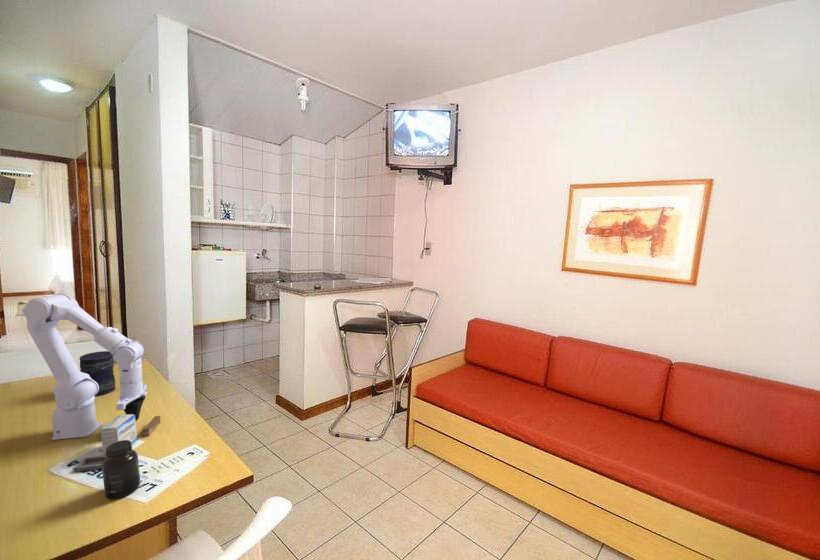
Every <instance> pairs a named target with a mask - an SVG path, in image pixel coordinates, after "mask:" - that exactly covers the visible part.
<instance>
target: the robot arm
mask: <svg viewBox="0 0 820 560" xmlns="http://www.w3.org/2000/svg"><path fill="white" fill-rule="evenodd" d="M21 312H22V313H23V314H24V317H25V318H26V329H27V331H28V334H29V335H30V336H31V339H32V340H33V342H34V344H35V346H36V348H37V349H38V351H39V352H40V354H41V356H42V358H43V359H44V361H45V363H46V364H47V366H48V368H49V370H50V371H51V373H52V375H53V377H54V379H55V381H56V382H55V383H56V384H55V385H54V388H53V389H52V392H53V394H54V397H55V398H54V399H55V400H54V402H55V405H56V406H57V407H56V408H55V410H53V412H52V416H51V425H52V435H53V437H51V440H52V441H54V440H63V439H74V438H85V437H90V436H91V435H92V434H93V433H94V432H95V431H97V430H98V429H99V427H101V426H102V425H104V421H99V422H98V421H97V417H96V416H97V415H96V406H95V403H96V402H95V399H96V397H95V395H96V394H97V393H98V391H99V386H98V384H97V382H96V381H94V380H93V379H91V377H90V376H89V374H86V373H83V372H81V371H80V369H79V367H78V365H77V363H76V362H75V360H74V358H73V356H72V354H71V353H70V351H69V349H68V348H67V346H66V343H65V342H64V341H63V338H62V336H61V335H60V333H59V331H58V329H57V328H56V327H57V325H58V324H59V323H60V321H69V322H71V323H72V324H74V325H76V326H78V327H79V328H80V329H82V330H84V331H85V332H87V333H89V334H90V335H92V336H93V342H95V343H96V344H98V345H99V346H100V347H102V348H103V349H105V351H109V352H110V353H112V354H113V355H112V356H113V361H114V362H115V363H116V364H117V369H118V378H119V390H120V391H119V393H120V394H119V398H118V400H117V401H118V402H116V404H115V408H116V411H122V410H123V412H124V413H125V415H127V414H134V415H135V422H137V421H138V420H139V418H140V414H141V410H142V406H143V403H144V401H145V400H146V396H147V394H148V391H146V390H147V383H144V382H143V379H144V378H143V363H142V362H143V361H142V357H143V355H144V354H145V351H146V349H145V346H144V344H142V342H141V341H139V340H132V339H131V338H128V337H126V336H125V335H123V334H122V333H120V332H119V329H118V328H116V327H111V326H104V325H102V324H101V323H100V322H99V321H98V320H96V319H95V318H94V317H93V316H91V315H90V314H89V313H88V312H86V311H85V310H84V309H83V308H82V307H81V306H80V305H79V303H78V301H77V300H76V299H74V298H72V297H71V296H70V295H68V294H66V293H63V292H62V293H60V292H59V293H56V294H51V295H48V296H43V297H36V298H31V299H30V300H28V301H27V302H26V304H25V306H24V307H23V308H22V311H21Z"/></svg>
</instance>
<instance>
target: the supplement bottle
mask: <svg viewBox="0 0 820 560" xmlns="http://www.w3.org/2000/svg"><path fill="white" fill-rule="evenodd" d="M106 457H107V458H105V460H104V461H103V463H102V469H101V471H102V480H103V490H104V495H105V497H106V498H107V499H109V500H117V499H118V500H119V499H123V498H124V497H125V498H126V497H128V496H129V495H131V494H133V493H134V492H135V491H137V490H138V488H139V487H140V485H141V475H140V474H141V473H140V465H139V455H138V453H137V451H136V450H135V449H133V444H132V445H131V441H129V440H122V441H118V442H115V443H113V444H111V445H109V446H108V447H107V448H106Z"/></svg>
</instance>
